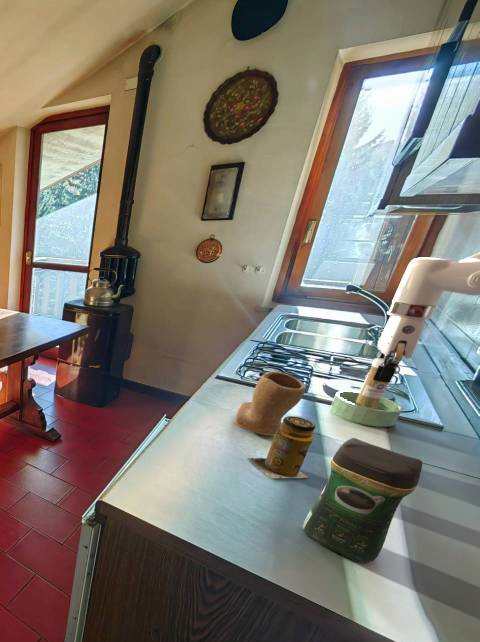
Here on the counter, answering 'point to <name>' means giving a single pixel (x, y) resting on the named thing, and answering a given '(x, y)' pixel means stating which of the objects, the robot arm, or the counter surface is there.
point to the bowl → (365, 410)
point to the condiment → (287, 449)
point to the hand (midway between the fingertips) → (378, 377)
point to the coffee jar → (361, 499)
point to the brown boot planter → (270, 403)
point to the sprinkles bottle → (371, 388)
